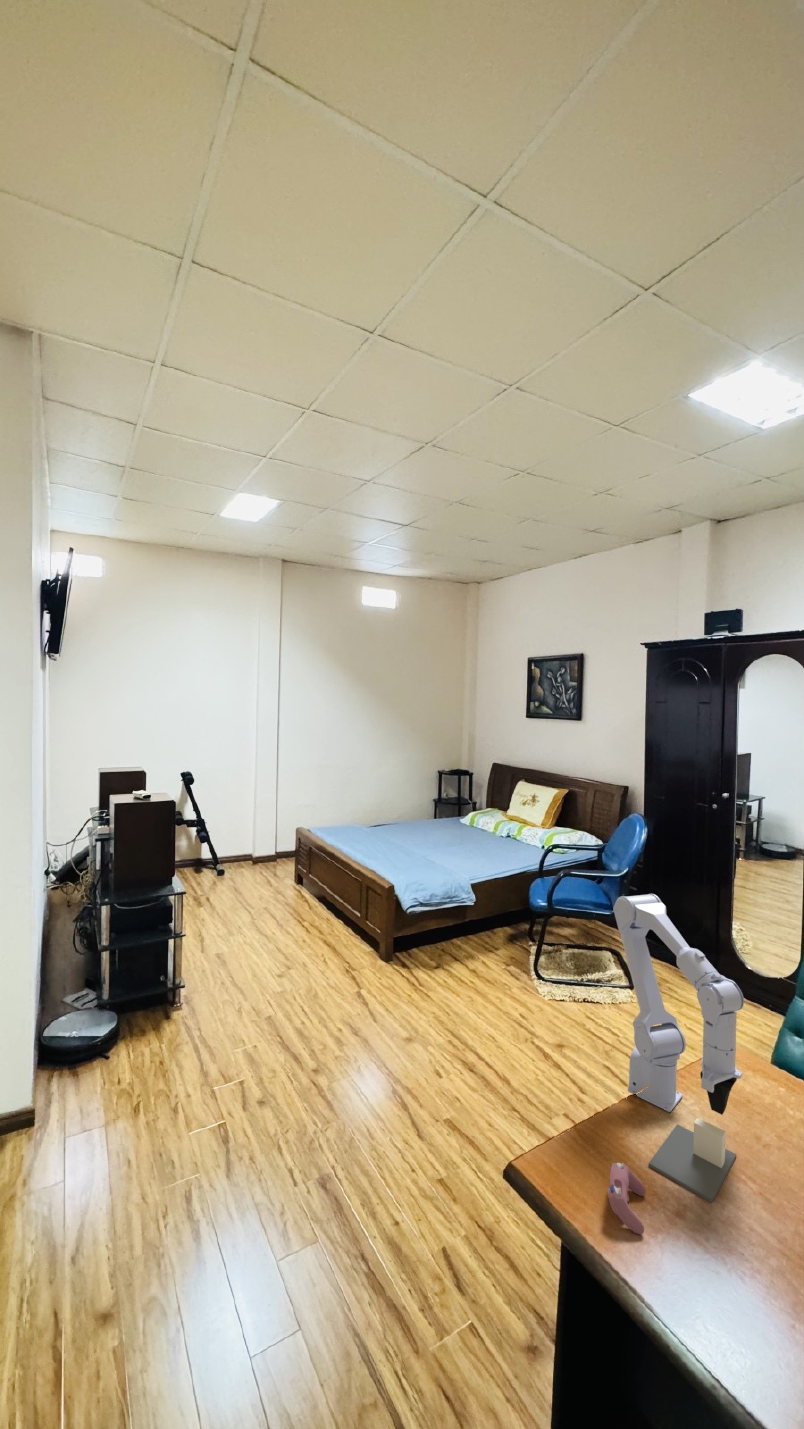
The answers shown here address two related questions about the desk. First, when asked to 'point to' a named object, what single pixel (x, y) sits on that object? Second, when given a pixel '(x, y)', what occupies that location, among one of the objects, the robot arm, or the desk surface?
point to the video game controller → (625, 1195)
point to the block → (709, 1142)
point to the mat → (690, 1164)
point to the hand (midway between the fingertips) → (717, 1110)
